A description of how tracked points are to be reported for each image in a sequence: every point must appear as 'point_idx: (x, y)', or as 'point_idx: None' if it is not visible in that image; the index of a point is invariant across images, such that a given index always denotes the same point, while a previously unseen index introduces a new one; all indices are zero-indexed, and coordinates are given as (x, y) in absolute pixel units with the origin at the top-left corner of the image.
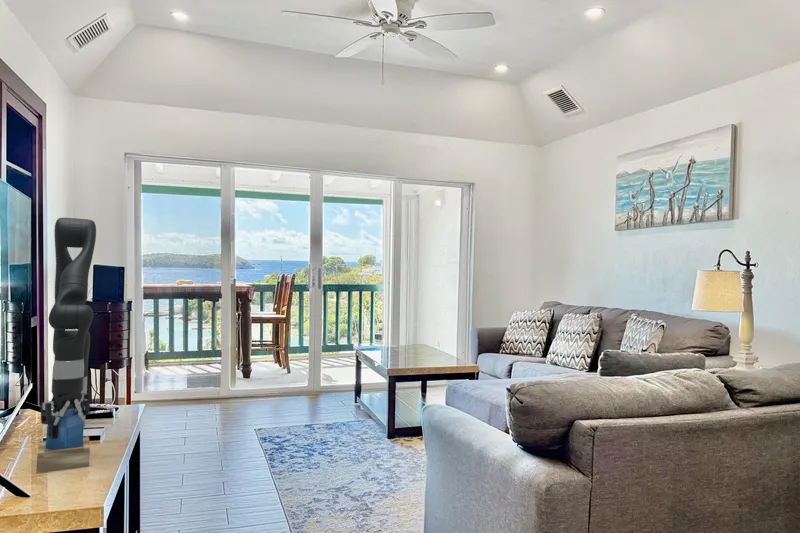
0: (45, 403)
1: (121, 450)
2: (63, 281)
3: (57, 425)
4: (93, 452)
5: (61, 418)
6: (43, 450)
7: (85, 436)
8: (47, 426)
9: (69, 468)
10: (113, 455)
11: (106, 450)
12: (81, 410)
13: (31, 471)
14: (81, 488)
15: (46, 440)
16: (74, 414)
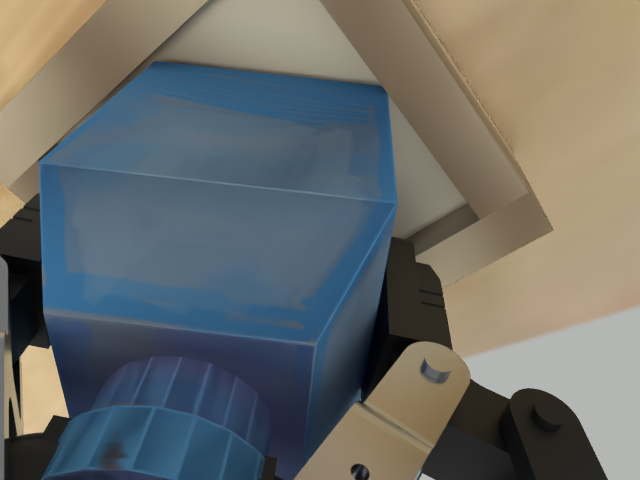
0: None
1: (591, 315)
2: None
3: (39, 343)
4: (545, 175)
5: (71, 410)
6: (44, 140)
7: (529, 215)
8: (43, 166)
9: None
10: (483, 320)
11: (595, 232)
12: (517, 463)
13: (63, 23)
14: (24, 409)
15: (124, 91)
16: (278, 473)
